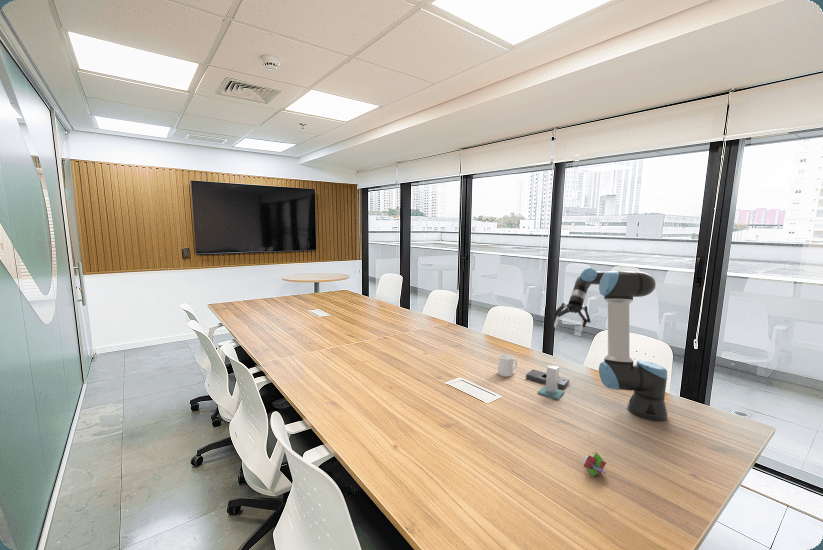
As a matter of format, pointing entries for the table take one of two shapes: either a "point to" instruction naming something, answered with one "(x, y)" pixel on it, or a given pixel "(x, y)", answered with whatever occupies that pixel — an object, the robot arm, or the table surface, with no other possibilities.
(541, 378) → the block
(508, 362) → the mug
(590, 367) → the table surface
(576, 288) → the robot arm
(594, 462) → the geometric puzzle
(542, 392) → the teal mat
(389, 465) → the table surface
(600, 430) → the table surface
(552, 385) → the steel peg
